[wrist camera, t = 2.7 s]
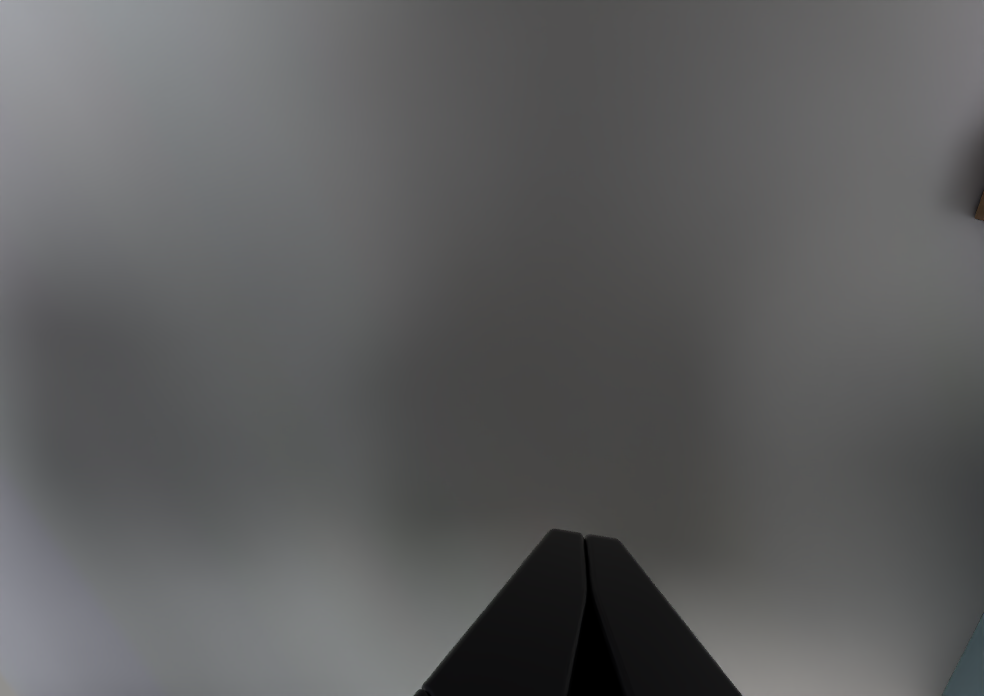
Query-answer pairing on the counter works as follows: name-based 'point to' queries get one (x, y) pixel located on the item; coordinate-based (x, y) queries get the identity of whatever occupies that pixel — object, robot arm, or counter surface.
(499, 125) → the counter surface
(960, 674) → the slate block
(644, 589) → the robot arm
